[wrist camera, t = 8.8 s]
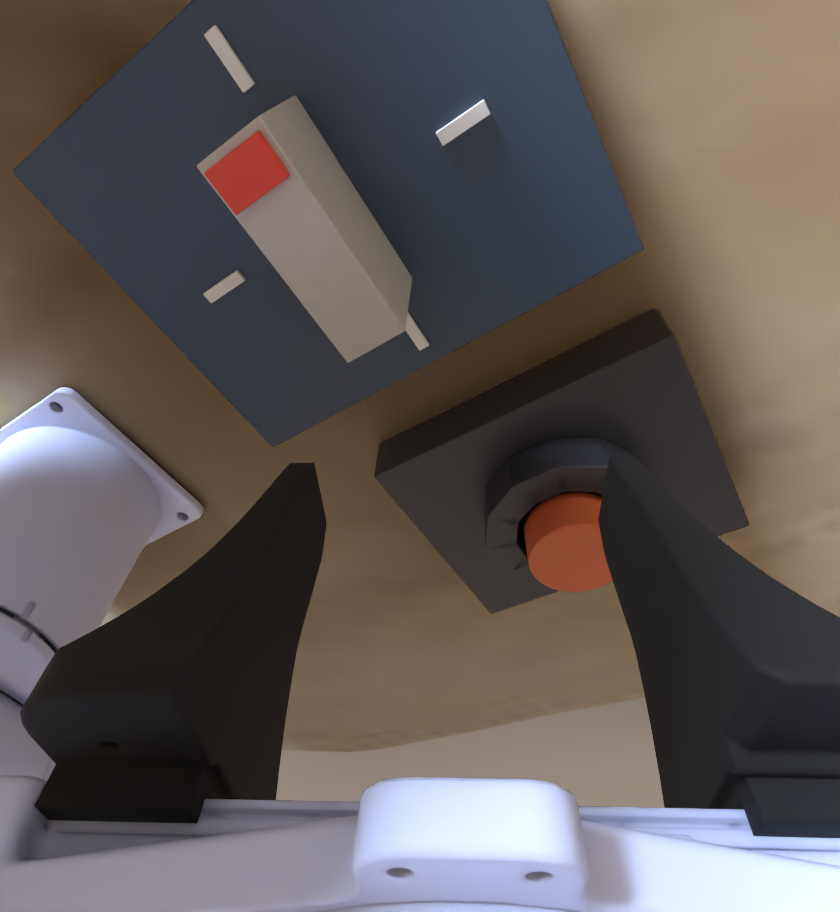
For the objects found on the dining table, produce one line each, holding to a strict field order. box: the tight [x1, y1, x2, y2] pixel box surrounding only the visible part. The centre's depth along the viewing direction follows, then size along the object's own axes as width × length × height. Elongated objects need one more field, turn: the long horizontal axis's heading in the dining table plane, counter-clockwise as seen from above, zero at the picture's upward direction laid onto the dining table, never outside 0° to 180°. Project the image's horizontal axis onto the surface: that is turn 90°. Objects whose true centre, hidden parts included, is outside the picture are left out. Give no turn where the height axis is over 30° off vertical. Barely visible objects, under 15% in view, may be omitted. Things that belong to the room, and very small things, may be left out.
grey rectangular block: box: [197, 96, 412, 363], centre depth 15 cm, size 6×2×4 cm, turn 32°
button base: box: [374, 309, 749, 614], centre depth 24 cm, size 12×10×4 cm
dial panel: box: [12, 0, 644, 447], centre depth 18 cm, size 14×11×3 cm
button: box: [524, 492, 613, 592], centre depth 22 cm, size 4×4×2 cm
